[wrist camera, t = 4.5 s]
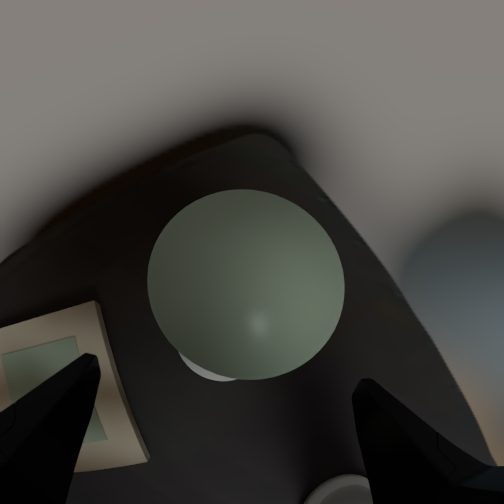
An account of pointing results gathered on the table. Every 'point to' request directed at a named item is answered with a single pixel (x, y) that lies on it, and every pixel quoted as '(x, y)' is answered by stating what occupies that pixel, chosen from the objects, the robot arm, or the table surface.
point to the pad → (57, 357)
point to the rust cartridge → (342, 491)
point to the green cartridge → (245, 285)
